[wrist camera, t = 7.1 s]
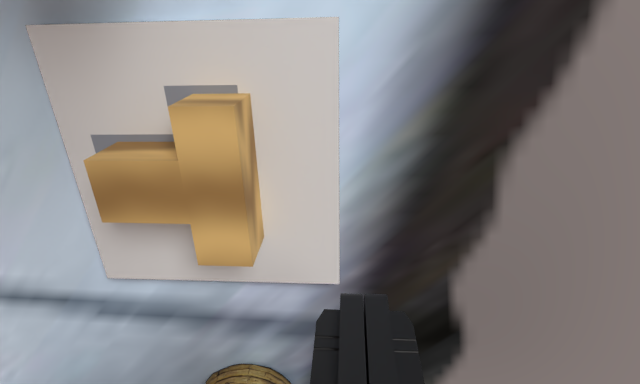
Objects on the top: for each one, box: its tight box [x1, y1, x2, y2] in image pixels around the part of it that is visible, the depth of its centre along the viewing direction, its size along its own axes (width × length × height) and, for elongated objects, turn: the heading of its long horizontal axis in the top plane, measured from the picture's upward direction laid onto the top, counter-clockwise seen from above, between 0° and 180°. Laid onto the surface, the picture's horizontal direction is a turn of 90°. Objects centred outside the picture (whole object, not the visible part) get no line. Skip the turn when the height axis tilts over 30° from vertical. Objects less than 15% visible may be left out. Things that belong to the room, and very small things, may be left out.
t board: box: [25, 17, 340, 284], centre depth 25 cm, size 18×18×1 cm
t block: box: [83, 93, 264, 267], centre depth 23 cm, size 10×9×4 cm
